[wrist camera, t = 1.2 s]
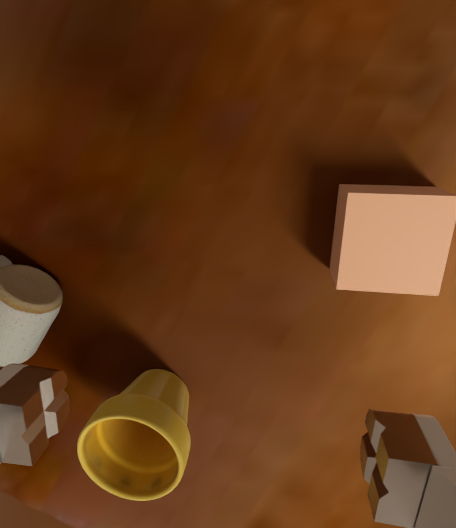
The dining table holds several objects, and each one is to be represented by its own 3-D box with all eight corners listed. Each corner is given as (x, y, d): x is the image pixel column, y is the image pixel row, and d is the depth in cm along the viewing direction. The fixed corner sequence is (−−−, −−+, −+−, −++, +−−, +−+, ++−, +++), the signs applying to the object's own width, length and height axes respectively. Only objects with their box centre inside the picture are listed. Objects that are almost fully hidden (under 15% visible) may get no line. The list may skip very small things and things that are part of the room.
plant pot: (125, 342, 41) (80, 403, 32) (213, 368, 41) (193, 437, 32) (114, 411, 45) (71, 483, 36) (194, 436, 45) (172, 514, 36)
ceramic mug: (81, 289, 40) (35, 324, 33) (51, 340, 43) (3, 382, 36) (-3, 232, 39) (-69, 254, 32) (-27, 287, 42) (-93, 319, 35)
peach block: (338, 183, 32) (348, 192, 28) (435, 186, 31) (461, 196, 27) (329, 268, 35) (336, 289, 31) (417, 273, 34) (438, 295, 30)
